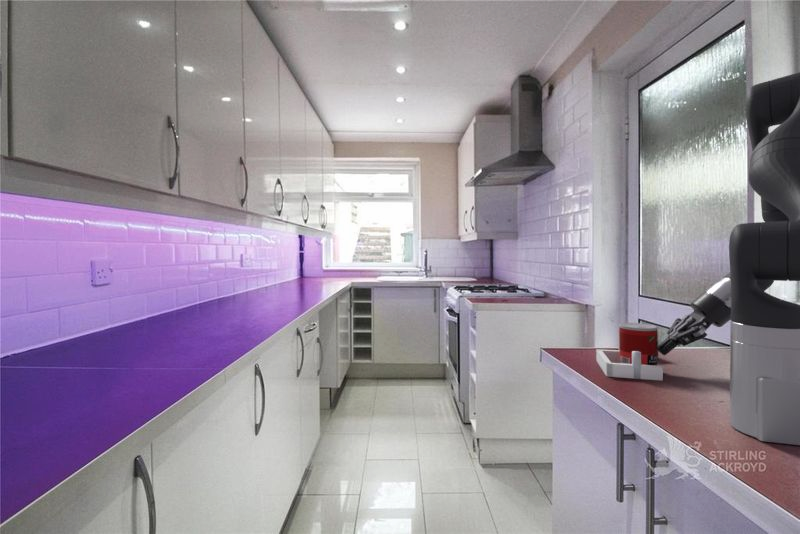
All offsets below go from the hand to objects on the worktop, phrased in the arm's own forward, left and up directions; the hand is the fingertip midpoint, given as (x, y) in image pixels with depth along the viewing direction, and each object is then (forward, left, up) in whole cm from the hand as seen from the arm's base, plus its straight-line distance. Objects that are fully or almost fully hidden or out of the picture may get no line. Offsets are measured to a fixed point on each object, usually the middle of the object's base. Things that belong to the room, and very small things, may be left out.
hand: (659, 351), depth 93 cm
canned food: (0, +4, -5) cm, 7 cm away
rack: (0, +6, -5) cm, 8 cm away
